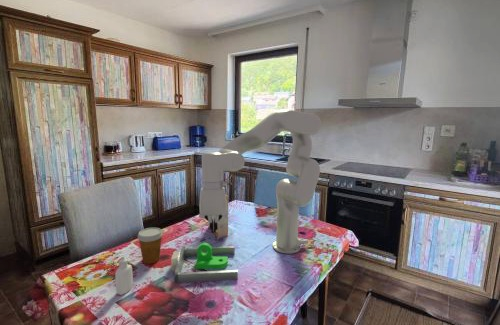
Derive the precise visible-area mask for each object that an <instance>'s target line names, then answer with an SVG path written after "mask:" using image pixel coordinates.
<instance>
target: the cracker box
mask: <svg viewBox="0 0 500 325" xmlns="http://www.w3.org/2000/svg"><path fill="white" fill-rule="evenodd" d="M226 203H227V217H223V218H221V219H220V220H219V221H218V223H217V225H218V230H216V233H214V231H213V233H212V234H214V236H215V237H216V238H218V239H219V238H225V237H229V236H228V235H229V195H228V194H226ZM211 216H212V219H213V227H214V219H215V215H211ZM208 229H209V230H210V223H209V222H208ZM210 232H212V230H210Z"/></svg>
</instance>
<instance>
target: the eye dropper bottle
mask: <svg viewBox="0 0 500 325" xmlns="http://www.w3.org/2000/svg"><path fill="white" fill-rule="evenodd" d="M118 264H119V265H118V268H117V270H116V271H115V276H114V277H115V292H116V294H117V295H120V296H123V295H125V294H127V293H128V292H129V291H130V290H132V288H133V286H134V278H133V267H132V265H131V264H128V259H127V258H125V255H122V256H121V259H119V262H118Z"/></svg>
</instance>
